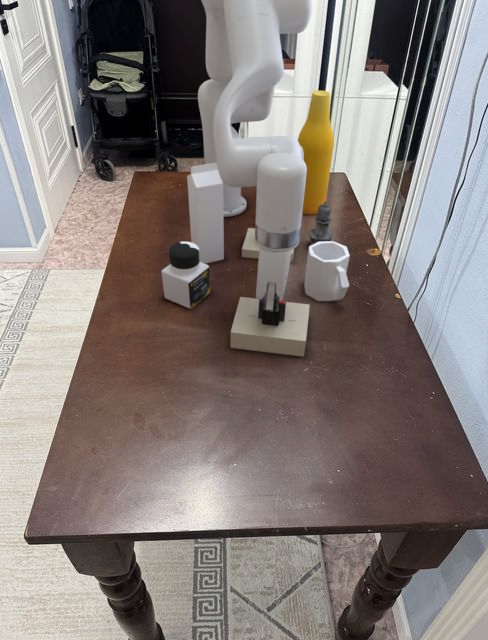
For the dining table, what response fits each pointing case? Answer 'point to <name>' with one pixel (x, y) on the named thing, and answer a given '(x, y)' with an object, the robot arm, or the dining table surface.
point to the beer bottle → (317, 151)
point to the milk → (206, 211)
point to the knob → (281, 305)
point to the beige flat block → (270, 329)
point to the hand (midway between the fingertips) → (271, 316)
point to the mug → (327, 271)
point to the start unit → (253, 246)
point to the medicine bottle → (185, 275)
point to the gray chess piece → (321, 225)
